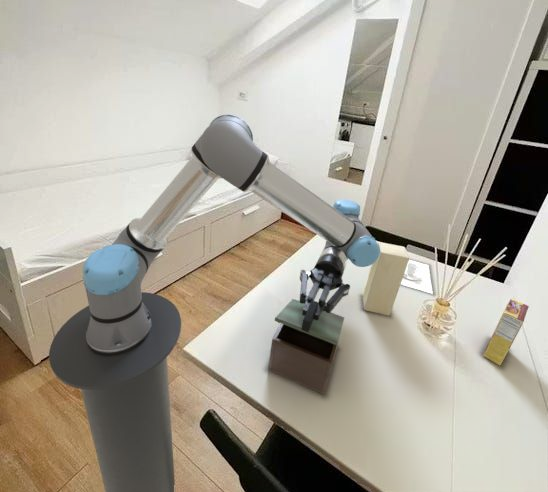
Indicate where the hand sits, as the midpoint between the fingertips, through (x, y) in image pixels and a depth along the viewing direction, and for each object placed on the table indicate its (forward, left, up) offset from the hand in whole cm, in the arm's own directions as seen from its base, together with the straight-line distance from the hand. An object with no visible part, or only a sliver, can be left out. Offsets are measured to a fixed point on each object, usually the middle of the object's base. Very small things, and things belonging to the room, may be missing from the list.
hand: (305, 326), depth 59 cm
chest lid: (0, +7, -5) cm, 9 cm away
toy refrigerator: (+15, +37, -18) cm, 43 cm away
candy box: (+47, +34, -18) cm, 60 cm away
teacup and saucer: (+23, +63, -18) cm, 69 cm away
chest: (0, +7, -17) cm, 19 cm away
